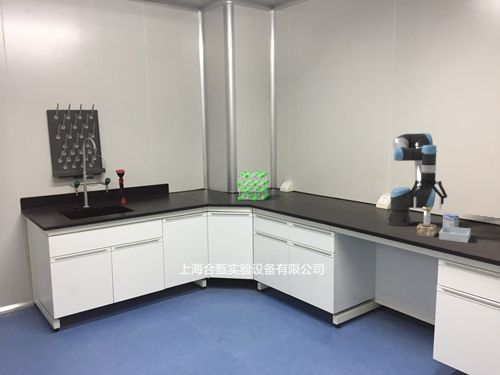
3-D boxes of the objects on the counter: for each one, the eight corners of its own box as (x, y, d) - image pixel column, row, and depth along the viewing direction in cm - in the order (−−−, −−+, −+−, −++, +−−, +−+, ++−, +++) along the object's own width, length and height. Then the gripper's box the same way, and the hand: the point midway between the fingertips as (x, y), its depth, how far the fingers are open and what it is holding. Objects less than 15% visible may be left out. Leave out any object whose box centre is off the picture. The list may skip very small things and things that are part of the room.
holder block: (416, 235, 233) (416, 226, 233) (419, 231, 241) (420, 223, 240) (433, 237, 228) (433, 228, 228) (436, 233, 236) (436, 225, 235)
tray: (438, 239, 224) (439, 232, 223) (443, 232, 237) (443, 226, 236) (467, 242, 216) (467, 235, 215) (470, 235, 229) (470, 228, 228)
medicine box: (442, 227, 248) (442, 214, 247) (447, 226, 250) (448, 213, 249) (453, 230, 241) (453, 216, 240) (458, 229, 243) (459, 215, 242)
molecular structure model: (264, 201, 358) (263, 174, 354) (237, 200, 364) (236, 174, 360) (269, 196, 381) (268, 171, 378) (244, 196, 387) (243, 171, 384)
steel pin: (420, 234, 234) (421, 207, 232) (422, 232, 238) (423, 205, 236) (430, 235, 231) (431, 208, 229) (432, 233, 235) (432, 206, 233)
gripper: (404, 172, 233) (403, 208, 236) (451, 173, 219) (450, 211, 222) (407, 171, 239) (406, 206, 242) (453, 172, 225) (452, 209, 228)
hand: (427, 208), depth 232 cm, fingers open, 13 cm apart
